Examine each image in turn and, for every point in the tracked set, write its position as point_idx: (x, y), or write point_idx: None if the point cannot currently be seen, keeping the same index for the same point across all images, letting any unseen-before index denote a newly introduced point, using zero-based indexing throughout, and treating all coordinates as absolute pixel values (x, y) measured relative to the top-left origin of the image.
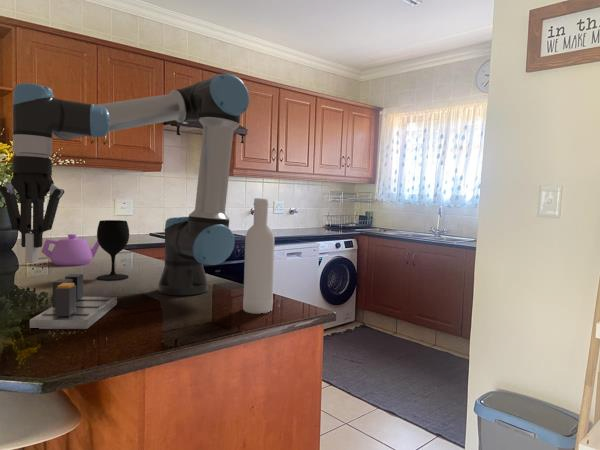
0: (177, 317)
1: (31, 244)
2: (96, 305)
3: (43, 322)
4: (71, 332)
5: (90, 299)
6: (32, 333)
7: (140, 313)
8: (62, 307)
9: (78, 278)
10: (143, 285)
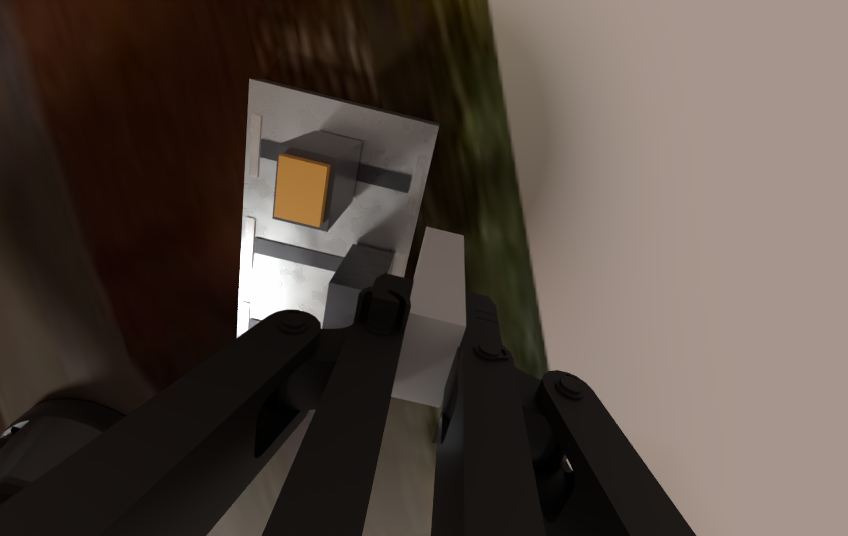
0: (13, 157)
1: (422, 271)
2: (270, 270)
3: (395, 114)
4: (302, 46)
5: None
6: (420, 64)
7: (146, 231)
8: (330, 139)
9: None
10: (225, 524)
